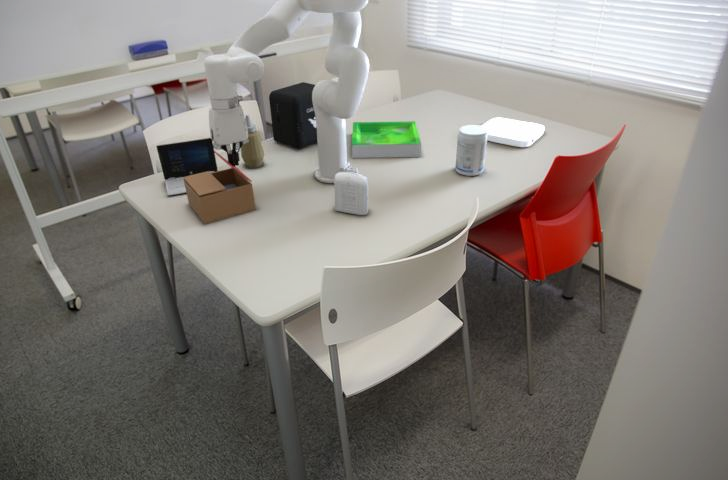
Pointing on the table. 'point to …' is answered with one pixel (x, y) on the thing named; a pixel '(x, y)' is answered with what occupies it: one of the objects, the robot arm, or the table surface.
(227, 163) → the flap
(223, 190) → the block
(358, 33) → the robot arm
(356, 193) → the white upright block
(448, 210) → the table surface
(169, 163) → the laptop
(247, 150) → the squeeze bottle
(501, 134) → the computer
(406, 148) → the tray
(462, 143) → the supplement tub
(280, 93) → the black box-shaped case
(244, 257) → the table surface
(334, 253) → the table surface
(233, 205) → the carton
